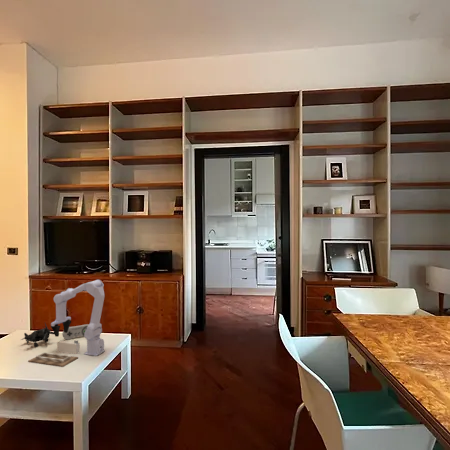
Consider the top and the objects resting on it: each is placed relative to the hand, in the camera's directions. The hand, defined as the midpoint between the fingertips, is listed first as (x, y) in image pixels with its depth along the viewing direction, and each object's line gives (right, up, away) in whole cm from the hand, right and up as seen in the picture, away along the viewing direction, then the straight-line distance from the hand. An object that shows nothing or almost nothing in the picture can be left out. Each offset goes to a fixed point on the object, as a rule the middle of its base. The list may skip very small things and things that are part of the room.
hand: (61, 334), depth 213 cm
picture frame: (+3, -10, -16) cm, 19 cm away
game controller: (+1, -10, +22) cm, 24 cm away
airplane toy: (-21, -10, +10) cm, 25 cm away
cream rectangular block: (+6, -10, -3) cm, 12 cm away
